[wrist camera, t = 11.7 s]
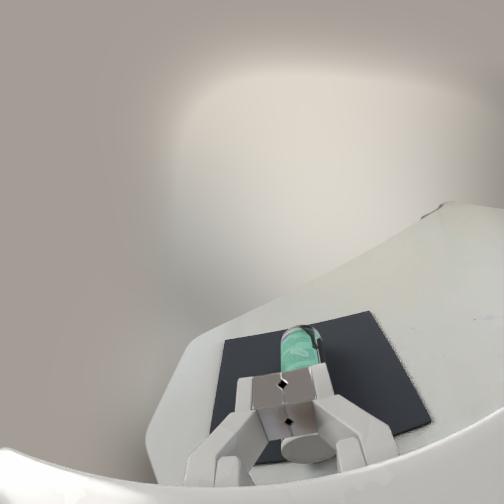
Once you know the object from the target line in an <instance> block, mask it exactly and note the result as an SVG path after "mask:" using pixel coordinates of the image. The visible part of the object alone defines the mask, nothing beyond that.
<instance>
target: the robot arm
mask: <svg viewBox="0 0 504 504" xmlns="http://www.w3.org/2000/svg"><path fill="white" fill-rule="evenodd" d="M314 433H318V435H319V436H321V437H322V438H323V439H324V440H325V441H326V442H327V443H328V444H329V445H330V446H331V447H332V448H333V449H334V450H336V455H337V474H332V475H327V476H322V477H317V478H311V479H306V480H299V481H293V482H285V483H277V484H267V485H256V486H255V484H254V482H253V481H252V479H251V477H250V476H249V474H248V473H249V471H250V470H251V468H252V467H253V465H254V464H255V462H256V461H257V459H258V458H259V456H260V455H261V453H262V452H263V450H264V448H265V447H266V445H267V444H268V441H271V440H278V439H283V438H289V437H295V436H302V435H308V434H314ZM0 504H504V406H503V407H501V408H500V409H498V410H496V411H495V412H493V413H491V414H490V415H488V416H486V417H484V418H482V419H481V420H479V421H477V422H475V423H473V424H471V425H469V426H468V427H466V428H464V429H462V430H460V431H458V432H455V433H453V434H451V435H449V436H447V437H445V438H443V439H440V440H438V441H436V442H433V443H431V444H429V445H426V446H424V447H421V448H419V449H416V450H414V451H411V452H408V453H405V454H403V455H400V454H399V451H398V448H397V445H396V443H395V440H394V438H393V435H392V432H391V430H390V427H389V425H387V424H385V423H384V422H382V421H380V420H379V419H377V418H375V417H374V416H372V415H371V414H369V413H367V412H366V411H364V410H363V409H361V408H359V407H358V406H356V405H355V404H353V403H352V402H350V401H348V400H347V399H345V398H344V397H342V396H341V395H339V394H338V395H334V391H333V388H332V384H331V381H330V377H329V373H328V370H327V366H326V364H325V363H320V364H316V365H312V366H308V367H304V368H299V369H294V370H289V371H284V372H278V373H272V374H265V375H258V376H253V377H244V378H239V379H238V382H237V393H236V404H235V412H232V413H230V414H229V415H228V416H227V417H226V418H225V419H224V420H223V421H222V423H221V424H220V425H219V426H218V427H217V428H216V429H215V430H214V431H213V432H212V433H211V434H210V435H209V436H208V437H207V438H206V439H205V440H204V441H203V442H202V443H201V444H200V445H199V447H198V448H197V449H196V450H195V451H194V452H193V453H192V454H191V455H190V456H189V458H188V462H187V467H186V472H185V477H184V482H183V486H170V485H158V484H149V483H140V482H133V481H127V480H120V479H115V478H109V477H104V476H100V475H95V474H91V473H86V472H82V471H78V470H74V469H71V468H67V467H63V466H60V465H57V464H54V463H50V462H47V461H44V460H41V459H38V458H35V457H33V456H30V455H27V454H25V453H22V452H20V451H17V450H15V449H12V448H9V447H3V448H1V449H0Z"/></svg>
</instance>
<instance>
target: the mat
mask: <svg viewBox="0 0 504 504" xmlns="http://www.w3.org/2000/svg"><path fill="white" fill-rule="evenodd" d="M308 326H311V327H313V328H315V329H316V330H317V331H318V333H319V335H320V337H321V339H322V344H323V348H324V353H325V358H326V363H327V368H328V373H329V377H330V381H331V384H332V388H333V391H334V395H338V394H339V395H341V396H342V397H344V398H345V399H347V400H348V401H350V402H352V403H353V404H355V405H356V406H358V407H359V408H361V409H363V410H364V411H366V412H367V413H369V414H371V415H372V416H374V417H375V418H377V419H379V420H380V421H382V422H384V423H385V424H387V425H389V427H390V430H391V432H392V435H393V436H396V435H398V434H401V433H404V432H407V431H410V430H413V429H415V428H418V427H421V426H423V425H426V424H428V423H431V419H430V417H429V415H428V413H427V411H426V409H425V407H424V405H423V403H422V401H421V400H420V398H419V396H418V394H417V392H416V390H415V388H414V387H413V385H412V383H411V381H410V379H409V377H408V376H407V374H406V372H405V370H404V369H403V367H402V365H401V363H400V361H399V360H398V358H397V356H396V355H395V353H394V351H393V349H392V348H391V346H390V344H389V343H388V341H387V339H386V338H385V336H384V334H383V332H382V331H381V329H380V328H379V326H378V324H377V323H376V321H375V319H374V318H373V316H372V314H371V313H370V311H366V312H362V313H358V314H354V315H350V316H345V317H341V318H337V319H333V320H328V321H324V322H319V323H315V324H310V325H308ZM287 330H288V329H286V330H281V331H275V332H270V333H265V334H259V335H253V336H247V337H241V338H235V339H229V340H225V344H224V350H223V356H222V362H221V367H220V373H219V379H218V385H217V391H216V397H215V403H214V409H213V415H212V422H211V428H210V434H211V433H212V432H213V431H214V430H215V429H216V428H217V427H218V426H219V425H220V424H221V423H222V421H223V420H224V419H225V418H226V417H227V416H228V415H229V414H230V413H232V412H235V404H236V393H237V382H238V379H239V378H244V377H253V376H258V375H265V374H272V373H278V372H281V340H282V336H283V334H284V333H285V332H286V331H287ZM210 434H209V435H210ZM282 461H289V460H287V459H285V458H284V457H283V456H282V453H281V439H278V440H271V441H268V444H267V445H266V447H265V448H264V450H263V452H262V453H261V455H260V456H259V458H258V459H257V461H256V462H255V464H265V463H274V462H282Z"/></svg>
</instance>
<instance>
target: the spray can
mask: <svg viewBox="0 0 504 504" xmlns="http://www.w3.org/2000/svg"><path fill="white" fill-rule="evenodd" d="M320 363H325V364H326V366H327V363H326V358H325V353H324V348H323V344H322V339H321V337H320V335H319V333H318V331H317V330H316V329H315V328H313V327H311V326H308V325H297V326H294V327H291V328H290V329H288V330H287V331H286V332H285V333H284V334H283V336H282V340H281V372H284V371H289V370H294V369H299V368H304V367H308V366H312V365H316V364H320ZM327 370H328V368H327ZM281 453H282V456H283V457H284V458H285V459H287V460H289V461H291V462H295V463H302V464H308V463H317V462H321V461H324V460H327V459H329V458H331V457H333V456H334V455H336V450H334V449H333V448H332V447H331V446H330V445H329V444H328V443H327V442H326V441H325V440H324V439H323V438H322V437H321V436H319V435H318V433H314V434H308V435H302V436H295V437H289V438H283V439H281Z"/></svg>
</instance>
